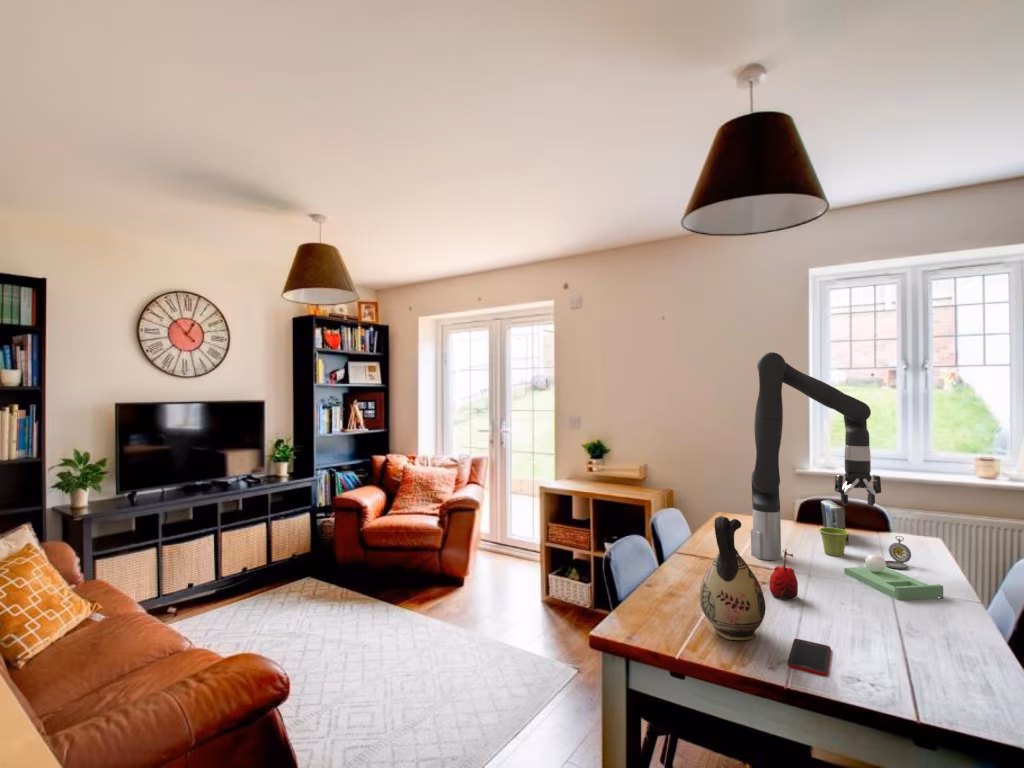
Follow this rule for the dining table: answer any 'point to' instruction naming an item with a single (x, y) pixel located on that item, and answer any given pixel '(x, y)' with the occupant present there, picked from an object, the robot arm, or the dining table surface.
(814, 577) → the dining table surface
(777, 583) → the red clay folk toy
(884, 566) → the ball
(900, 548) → the pocket watch
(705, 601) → the ceramic jug
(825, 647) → the cell phone
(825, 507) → the radio
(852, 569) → the green
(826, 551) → the plant pot
